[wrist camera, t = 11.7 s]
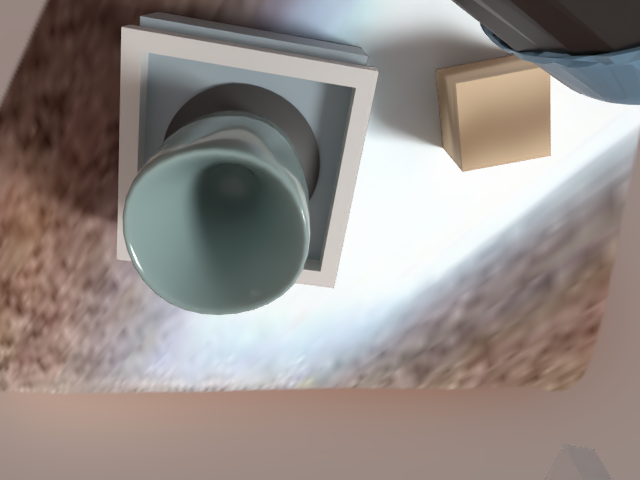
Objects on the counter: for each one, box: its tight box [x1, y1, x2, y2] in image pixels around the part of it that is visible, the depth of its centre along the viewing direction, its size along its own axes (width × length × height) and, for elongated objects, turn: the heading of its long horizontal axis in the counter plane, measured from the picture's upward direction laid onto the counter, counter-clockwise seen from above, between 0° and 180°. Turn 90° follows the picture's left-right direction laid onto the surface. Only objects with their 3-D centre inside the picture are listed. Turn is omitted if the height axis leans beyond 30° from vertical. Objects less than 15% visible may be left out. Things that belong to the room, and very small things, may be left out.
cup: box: [122, 110, 311, 315], centre depth 27 cm, size 8×8×10 cm
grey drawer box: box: [117, 12, 379, 288], centre depth 34 cm, size 15×13×6 cm
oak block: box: [436, 55, 551, 172], centre depth 33 cm, size 5×5×5 cm
